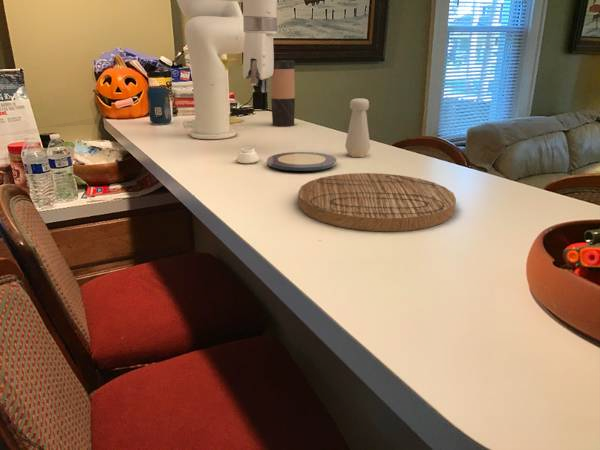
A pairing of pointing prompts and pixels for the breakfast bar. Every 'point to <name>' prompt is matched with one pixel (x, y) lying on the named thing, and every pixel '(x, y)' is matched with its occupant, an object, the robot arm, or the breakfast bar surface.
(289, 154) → the plate
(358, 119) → the salt shaker
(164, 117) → the soda can
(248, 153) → the white jar
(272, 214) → the breakfast bar surface
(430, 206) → the trivet
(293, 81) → the travel mug
